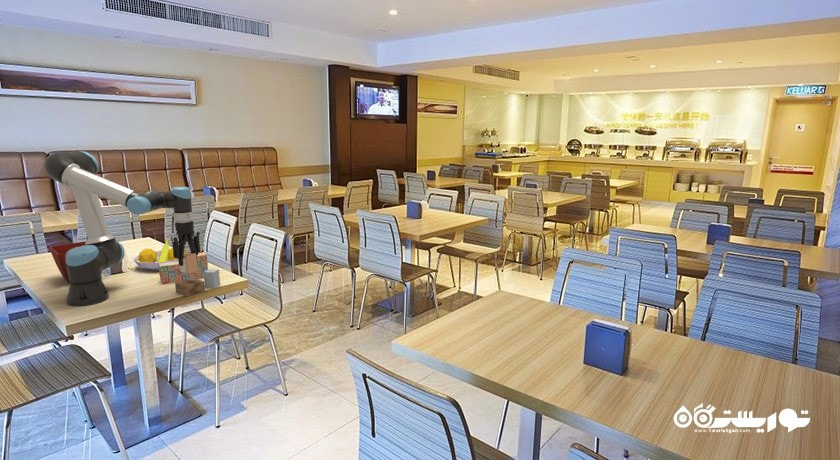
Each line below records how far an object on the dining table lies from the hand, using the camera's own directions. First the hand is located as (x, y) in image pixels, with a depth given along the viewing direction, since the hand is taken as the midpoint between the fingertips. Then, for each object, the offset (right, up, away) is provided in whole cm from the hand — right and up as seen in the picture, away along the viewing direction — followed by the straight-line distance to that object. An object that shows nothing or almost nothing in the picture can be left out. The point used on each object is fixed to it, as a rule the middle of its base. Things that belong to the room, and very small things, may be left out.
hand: (188, 270), depth 217 cm
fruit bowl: (-34, -1, +42) cm, 54 cm away
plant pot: (-62, -6, +18) cm, 65 cm away
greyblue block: (+7, -9, +10) cm, 15 cm away
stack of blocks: (-12, -6, +20) cm, 24 cm away
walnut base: (0, -10, +2) cm, 11 cm away
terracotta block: (0, 0, 0) cm, 0 cm away
